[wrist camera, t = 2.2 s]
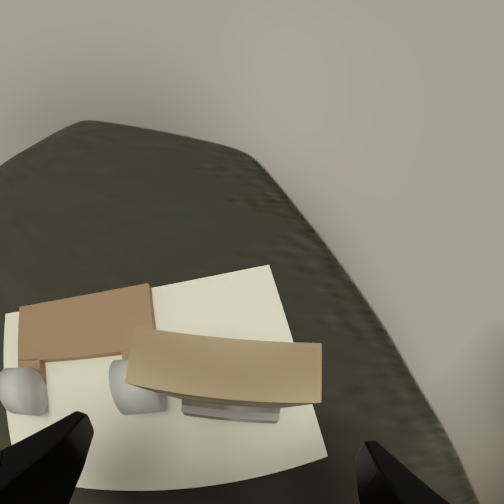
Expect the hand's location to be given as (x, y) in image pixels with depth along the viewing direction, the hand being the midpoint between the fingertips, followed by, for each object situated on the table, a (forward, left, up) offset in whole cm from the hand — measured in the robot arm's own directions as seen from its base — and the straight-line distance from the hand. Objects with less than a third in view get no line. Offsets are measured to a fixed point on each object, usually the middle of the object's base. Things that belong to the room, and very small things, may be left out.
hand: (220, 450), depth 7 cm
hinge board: (-5, +5, -10) cm, 12 cm away
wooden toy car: (+1, +2, -9) cm, 9 cm away
